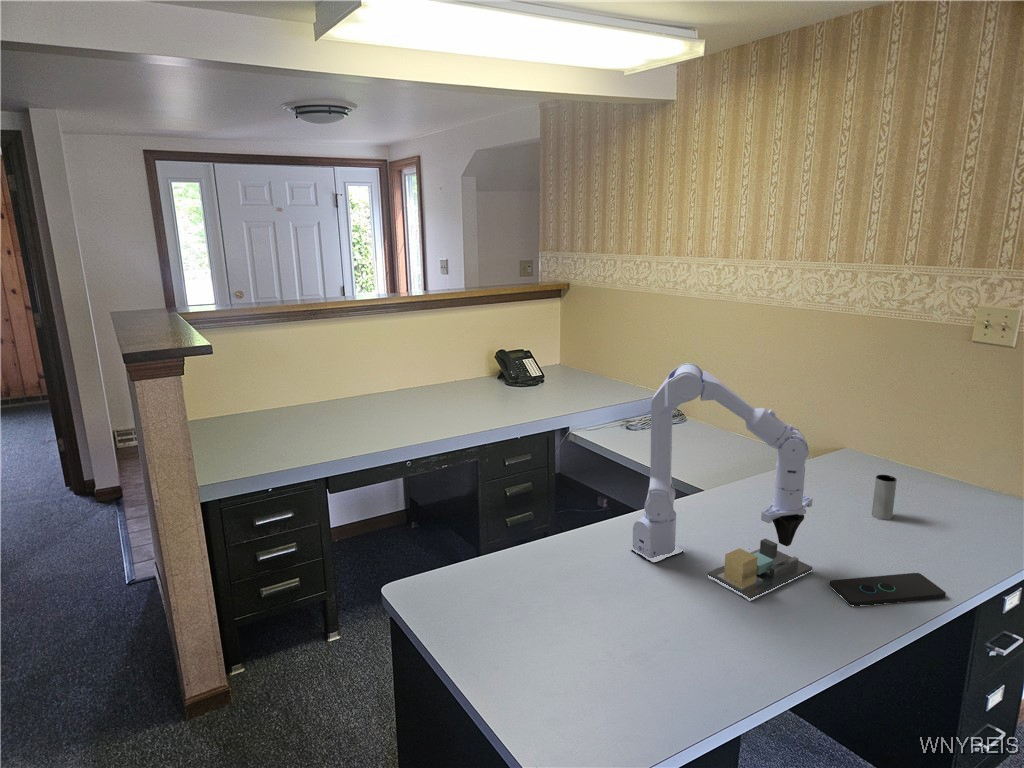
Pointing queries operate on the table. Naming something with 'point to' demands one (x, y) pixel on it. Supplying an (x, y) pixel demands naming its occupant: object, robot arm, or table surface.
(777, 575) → the press bed
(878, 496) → the grey cylinder
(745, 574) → the block
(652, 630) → the table surface
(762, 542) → the teal and grey block
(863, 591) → the smart home device
